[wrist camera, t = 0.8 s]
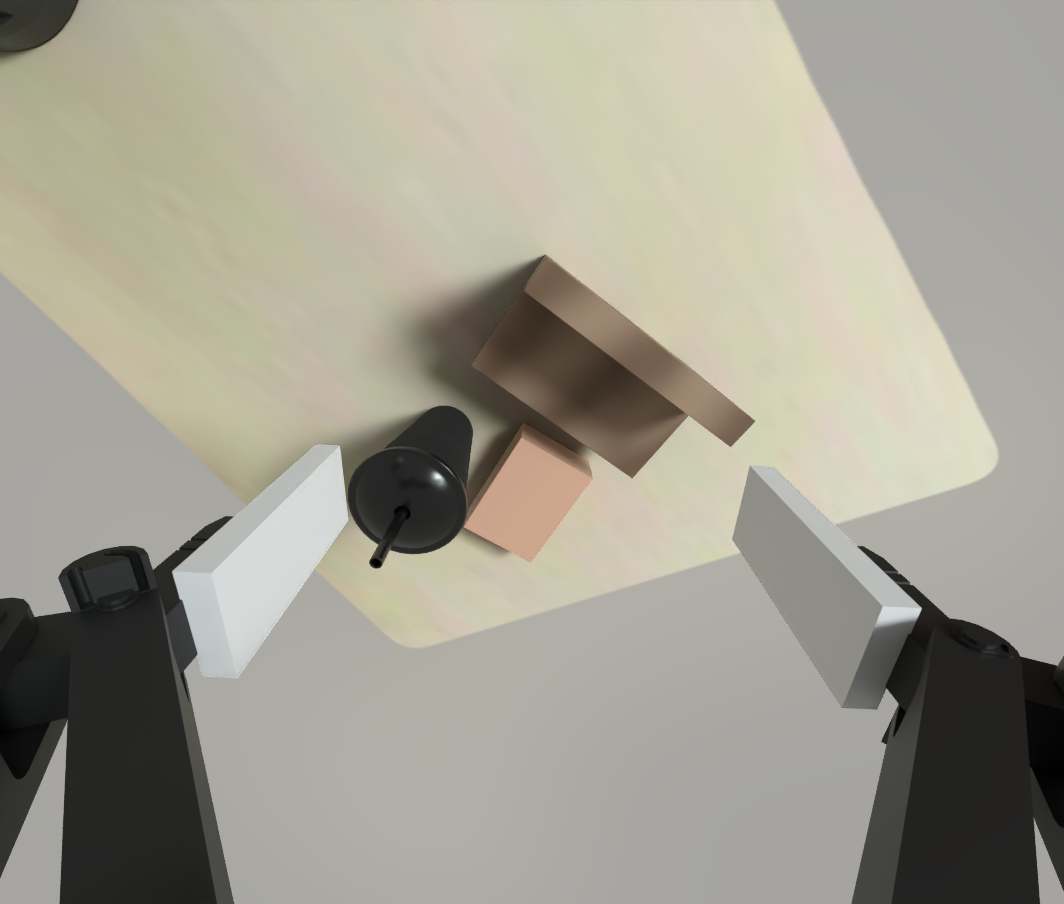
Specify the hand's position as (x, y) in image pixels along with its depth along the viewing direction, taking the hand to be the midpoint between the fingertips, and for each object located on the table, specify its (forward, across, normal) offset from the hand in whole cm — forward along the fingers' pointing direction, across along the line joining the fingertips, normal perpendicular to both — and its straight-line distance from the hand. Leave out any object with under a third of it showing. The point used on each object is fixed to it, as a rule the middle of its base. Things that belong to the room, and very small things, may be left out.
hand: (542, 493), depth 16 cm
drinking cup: (+27, -8, -8) cm, 29 cm away
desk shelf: (+27, +3, -2) cm, 27 cm away
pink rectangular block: (+27, -1, -13) cm, 30 cm away
